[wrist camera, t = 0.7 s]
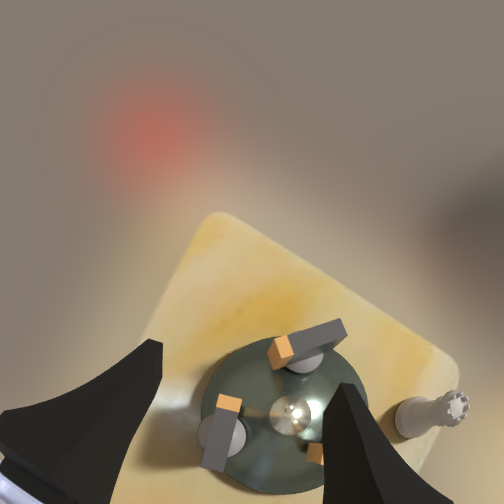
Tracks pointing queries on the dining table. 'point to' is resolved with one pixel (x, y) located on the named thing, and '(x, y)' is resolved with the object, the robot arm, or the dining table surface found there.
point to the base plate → (277, 416)
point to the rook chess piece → (430, 413)
